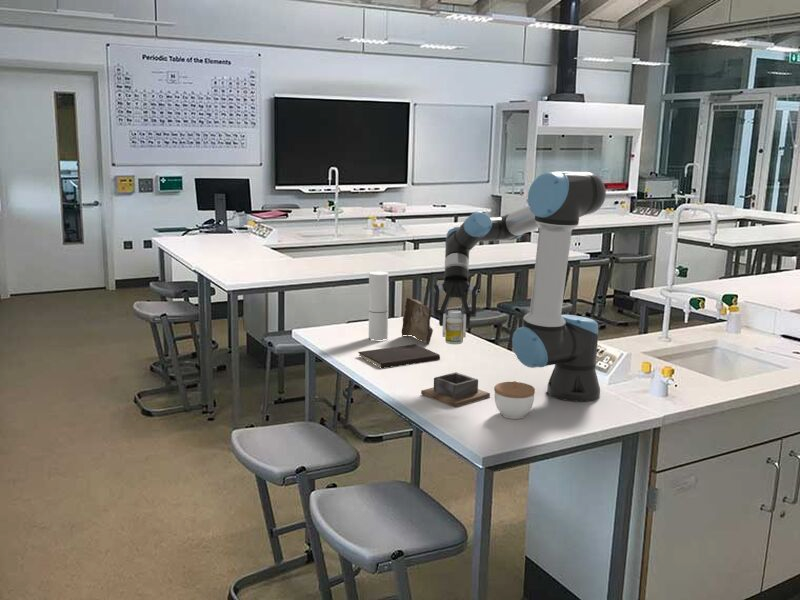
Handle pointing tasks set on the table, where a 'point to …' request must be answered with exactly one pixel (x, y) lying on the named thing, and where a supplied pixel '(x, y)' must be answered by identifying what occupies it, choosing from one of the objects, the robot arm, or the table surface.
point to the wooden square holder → (455, 390)
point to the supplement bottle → (454, 327)
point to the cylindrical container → (378, 305)
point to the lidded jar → (514, 399)
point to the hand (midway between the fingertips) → (454, 334)
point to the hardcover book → (399, 355)
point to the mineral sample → (417, 320)
